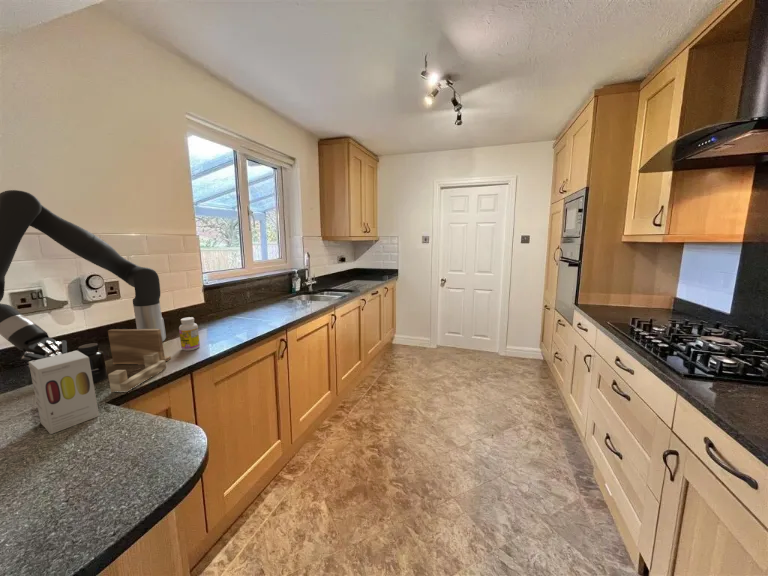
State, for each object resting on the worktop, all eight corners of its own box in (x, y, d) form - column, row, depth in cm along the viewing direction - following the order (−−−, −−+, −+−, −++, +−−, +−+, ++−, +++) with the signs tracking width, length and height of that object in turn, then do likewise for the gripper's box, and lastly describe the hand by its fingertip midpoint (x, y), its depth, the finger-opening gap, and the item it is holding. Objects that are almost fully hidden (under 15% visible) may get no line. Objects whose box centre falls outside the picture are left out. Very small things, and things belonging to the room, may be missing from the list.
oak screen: (124, 359, 120) (118, 326, 117) (171, 358, 120) (166, 326, 117) (113, 364, 115) (107, 330, 112) (161, 364, 115) (156, 330, 112)
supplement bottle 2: (177, 349, 129) (173, 319, 126) (192, 344, 135) (189, 315, 132) (189, 352, 126) (185, 321, 124) (203, 346, 132) (200, 317, 130)
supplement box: (49, 435, 75) (35, 370, 72) (39, 423, 80) (25, 361, 77) (101, 415, 83) (89, 356, 80) (88, 405, 88) (77, 349, 85)
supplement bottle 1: (90, 386, 99) (84, 350, 97) (74, 384, 100) (66, 348, 98) (113, 376, 106) (107, 342, 103) (97, 374, 107) (91, 341, 105)
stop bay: (152, 368, 111) (149, 352, 110) (166, 368, 111) (163, 352, 110) (111, 392, 95) (108, 374, 94) (127, 392, 95) (124, 374, 94)
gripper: (3, 330, 93) (53, 368, 95) (50, 318, 106) (92, 352, 108) (-10, 347, 94) (39, 385, 96) (38, 333, 107) (80, 366, 109)
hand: (67, 367), depth 102 cm, fingers closed
